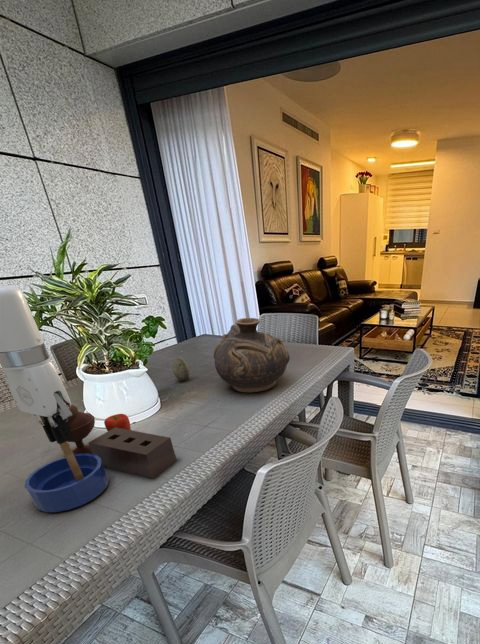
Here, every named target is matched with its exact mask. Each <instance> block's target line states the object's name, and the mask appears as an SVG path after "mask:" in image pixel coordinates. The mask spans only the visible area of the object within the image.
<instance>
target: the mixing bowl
mask: <svg viewBox="0 0 480 644" xmlns="http://www.w3.org/2000/svg"><path fill="white" fill-rule="evenodd" d="M74 456H75V458H76V461H77V463H78V465H79V467H80V469H81V472H82V474H83V476H84V478H83V479H81V480H79V481H76V479H75V477H74V475H73V473H72V471H71V468H70V466H69V464H68V462H67V460H66V458H65V456H61V457H59V458H56V459H53V460H51V461H48V462H47V463H45V464H43V465H42V466H40V467H37V468H36V469H35V470H33V471H32V472H31V473H30V474H29V475H28V476H27V477H26V479H25V481H24V488H25V490H26V492H27V493H28V495H29V497H30V499H31V501H32V502H33V504H34V506H35V507H36V508H37V510H38V511H40V512H41V511H42V512H45V513H59V512H64V511H69V510H72V509H75V508H78V507H81V506H83V505H85V504H87V503H89V502H91V501H92V500H94V499H96V498H97V497H98V496H100V495H102V493H103V492H104V491H105V490H106V489H107V487H108V485H109V482H110V479H109V475H108V472H107V470H106V467H104V465H103V463H102V460H101V458H100V457H98V456H97V455H94V454H93V453H91V454H75V455H74Z"/></svg>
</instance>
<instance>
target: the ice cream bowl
mask: <svg viewBox="0 0 480 644" xmlns="http://www.w3.org/2000/svg"><path fill="white" fill-rule="evenodd" d="M69 410H70V411H71V413H72V414H73V416H71V417H69V418H67V419H68V422H67V423H68V425H69V427H70V430H71V432H72V434H73V438H72V439H70V440H68V443H75V446H76V448H75V449H74V450H72V452H73V454H74V455H75V454H93V453H92V450H91V448H90V445H85V444H84V442H83V441H84V440H83V439H86V438H87V437H88V436H89V435H90V433H91V432H92V430H94V428H95V425H96V424H95V423H96V420H95V416H94V415H93V414H91V412H83V411H79V410H78V407H77V406H75V405H73V404H71V407H70V408H69ZM57 415H59V414H57ZM57 415H55V416H57Z"/></svg>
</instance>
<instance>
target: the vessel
mask: <svg viewBox="0 0 480 644" xmlns="http://www.w3.org/2000/svg"><path fill="white" fill-rule="evenodd" d="M234 321H235V322H234V323H235V324H232V325H231V326H230V329H229V330H228V332H227V333H224V334H223V335H222V336H221V340H220V341H219V342H218V344H217V345H216V347H214V351H213V359H214V367H215V370H216V373H217V374H218V376H219V377H220V378H221V379H222V380H223V381H224V382H225V383H226V384H228V385H230V386H232V388H233V389H234V390H235V391H237V392H241V393H259V392H263V391H266V390H270V389H271V388H273V387H274V386H275V385H276V383H277V381H278V380H279V379H280V378H281V377H282V376H283V375H284V373H285V371H286V369H287V366H288V364H289V362H290V358H291V357H290V354H289V351H288V349H287V345H286V344H285V343H284V341H282V340H281V339H280V338H278V337H274V336H272V334H270V333H265V332H263V331H262V332H259V331H258V329H257V328H258V325H259V324H260V323H261V320H260V319H259V318H256V317H244V318H239V319H236V320H234Z"/></svg>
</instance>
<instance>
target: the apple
mask: <svg viewBox="0 0 480 644" xmlns="http://www.w3.org/2000/svg"><path fill="white" fill-rule="evenodd" d="M103 423H104V427H105V429H106V432H108V431H110V430H111V429H113V428H115V427H116V428H121V429H127V430H131V422H130V418H129V417H128V415H127V414H125V413H117V414H113V415H110V416H108V417H106V418H105V419H104V421H103Z"/></svg>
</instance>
